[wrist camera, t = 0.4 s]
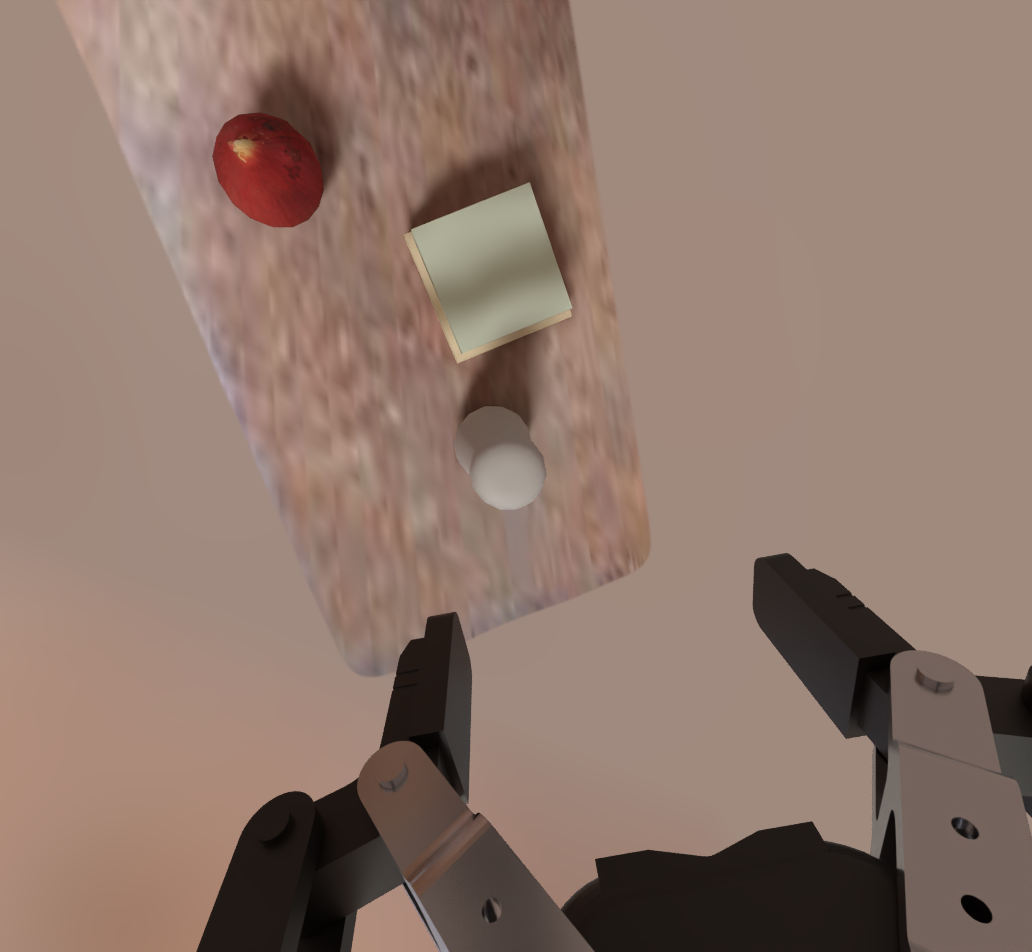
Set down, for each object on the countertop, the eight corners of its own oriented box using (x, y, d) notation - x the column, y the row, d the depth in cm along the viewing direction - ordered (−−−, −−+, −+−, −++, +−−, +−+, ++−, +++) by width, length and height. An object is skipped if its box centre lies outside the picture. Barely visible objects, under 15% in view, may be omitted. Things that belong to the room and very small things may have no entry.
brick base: (406, 243, 34) (400, 224, 29) (521, 197, 34) (534, 170, 30) (456, 363, 36) (458, 363, 32) (564, 319, 37) (581, 312, 32)
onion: (278, 125, 31) (224, 47, 24) (352, 191, 33) (323, 138, 25) (226, 196, 32) (157, 143, 24) (301, 258, 33) (258, 227, 26)
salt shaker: (508, 391, 37) (539, 405, 25) (536, 455, 39) (579, 498, 26) (441, 422, 37) (438, 452, 25) (472, 486, 39) (484, 544, 26)
